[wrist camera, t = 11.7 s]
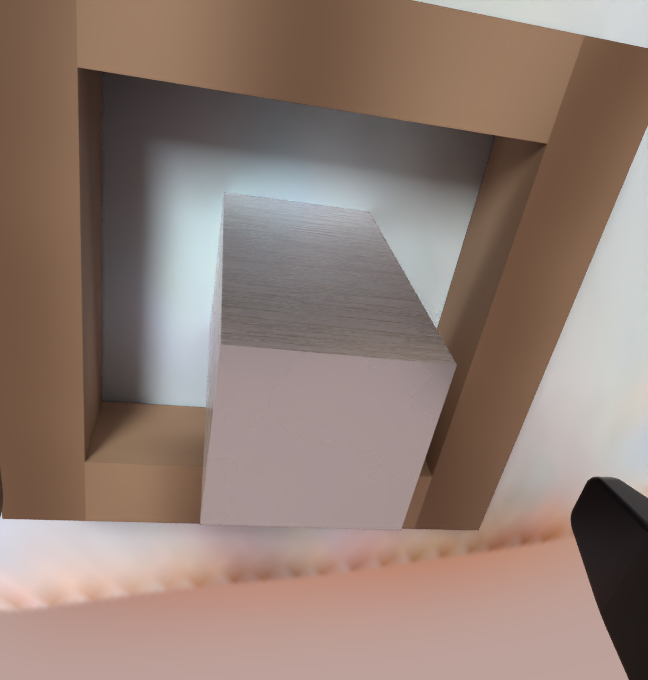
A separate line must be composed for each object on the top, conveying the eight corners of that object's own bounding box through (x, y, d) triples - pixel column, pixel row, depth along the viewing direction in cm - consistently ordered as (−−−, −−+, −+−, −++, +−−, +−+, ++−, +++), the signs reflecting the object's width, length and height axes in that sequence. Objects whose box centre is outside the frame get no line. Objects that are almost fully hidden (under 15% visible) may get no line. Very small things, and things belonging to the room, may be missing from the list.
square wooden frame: (609, 40, 14) (677, 54, 12) (452, 471, 20) (478, 530, 18) (-11, -86, 12) (-66, -97, 9) (29, 452, 18) (2, 518, 16)
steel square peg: (369, 212, 16) (456, 364, 10) (341, 335, 17) (400, 530, 11) (224, 191, 15) (221, 344, 9) (210, 323, 17) (199, 524, 11)
